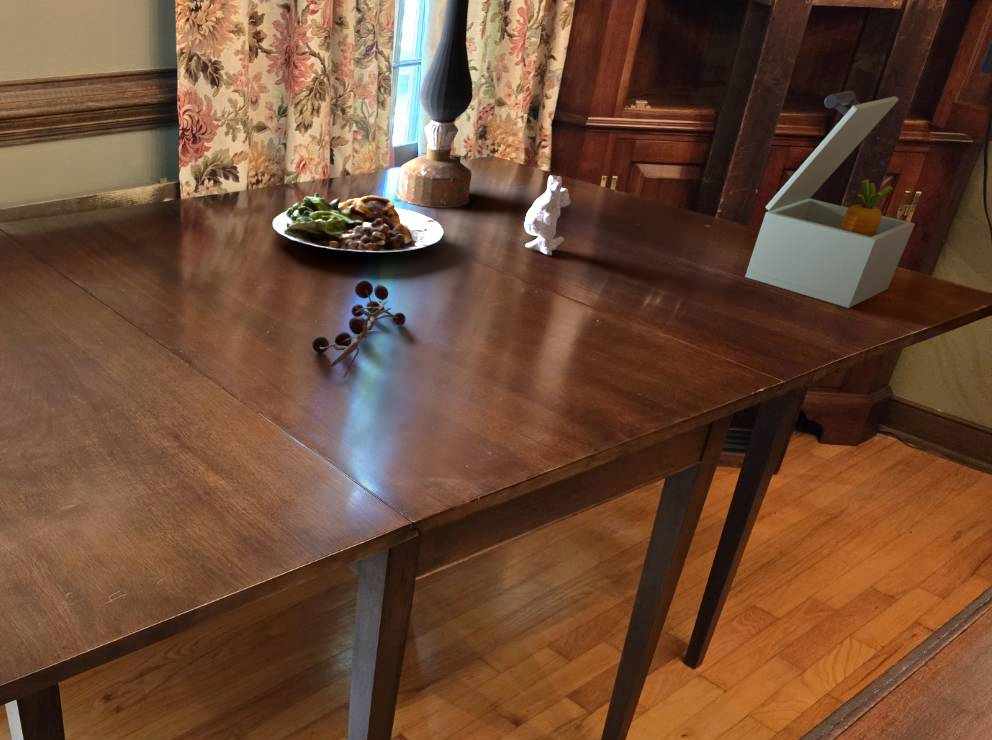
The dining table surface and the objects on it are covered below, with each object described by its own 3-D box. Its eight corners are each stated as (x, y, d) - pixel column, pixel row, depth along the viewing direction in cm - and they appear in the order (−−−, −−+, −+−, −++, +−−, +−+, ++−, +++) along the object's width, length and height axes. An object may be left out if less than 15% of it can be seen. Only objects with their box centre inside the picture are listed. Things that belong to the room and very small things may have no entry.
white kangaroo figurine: (561, 259, 154) (578, 182, 147) (519, 254, 155) (533, 177, 148) (562, 243, 160) (577, 169, 153) (521, 239, 162) (535, 165, 155)
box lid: (899, 99, 138) (869, 75, 140) (857, 109, 130) (827, 83, 132) (811, 196, 151) (785, 174, 153) (768, 210, 144) (741, 186, 145)
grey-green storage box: (887, 289, 148) (915, 223, 142) (848, 308, 140) (875, 240, 134) (786, 260, 157) (808, 198, 152) (744, 277, 150) (765, 212, 144)
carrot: (861, 283, 146) (901, 182, 138) (847, 290, 143) (887, 187, 135) (828, 274, 149) (865, 174, 141) (814, 281, 146) (851, 179, 138)
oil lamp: (392, 221, 179) (382, -19, 152) (402, 186, 189) (395, -44, 162) (467, 220, 176) (471, -25, 148) (474, 184, 186) (479, -51, 159)
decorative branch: (377, 252, 132) (377, 282, 105) (406, 312, 135) (413, 356, 108) (305, 291, 135) (287, 330, 108) (335, 348, 138) (324, 401, 111)
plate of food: (237, 236, 157) (237, 198, 154) (342, 204, 175) (345, 170, 171) (373, 280, 142) (377, 239, 139) (473, 241, 160) (479, 204, 156)
